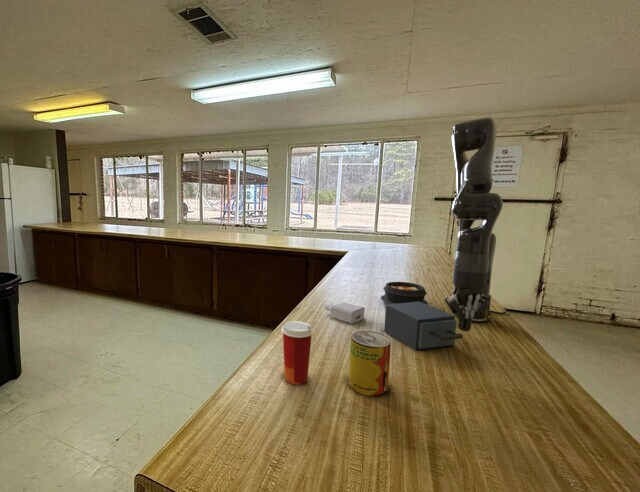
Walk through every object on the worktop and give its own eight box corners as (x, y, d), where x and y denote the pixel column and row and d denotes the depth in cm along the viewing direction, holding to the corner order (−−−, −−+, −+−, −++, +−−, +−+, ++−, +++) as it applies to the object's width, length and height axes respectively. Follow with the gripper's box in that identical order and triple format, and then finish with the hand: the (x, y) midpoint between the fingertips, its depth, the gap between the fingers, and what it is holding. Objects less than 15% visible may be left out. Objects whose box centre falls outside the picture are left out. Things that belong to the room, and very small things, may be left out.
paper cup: (313, 373, 83) (314, 322, 81) (309, 389, 76) (310, 334, 74) (284, 368, 86) (284, 318, 84) (277, 383, 79) (277, 329, 77)
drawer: (468, 351, 93) (471, 326, 92) (433, 356, 90) (436, 330, 89) (420, 327, 111) (422, 306, 110) (390, 331, 108) (391, 309, 107)
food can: (369, 400, 72) (372, 350, 70) (340, 380, 80) (342, 335, 78) (396, 389, 76) (399, 342, 74) (366, 371, 84) (369, 328, 82)
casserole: (424, 317, 123) (426, 296, 122) (373, 308, 134) (375, 288, 132) (431, 301, 143) (432, 282, 142) (386, 294, 154) (388, 277, 153)
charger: (330, 308, 133) (364, 318, 122) (317, 313, 127) (351, 324, 116) (331, 297, 133) (364, 306, 121) (317, 302, 127) (351, 312, 115)
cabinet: (452, 345, 100) (455, 315, 98) (415, 350, 96) (418, 319, 95) (417, 327, 114) (419, 301, 112) (384, 331, 110) (385, 304, 109)
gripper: (462, 273, 80) (456, 338, 83) (503, 270, 83) (496, 333, 86) (438, 267, 87) (433, 327, 90) (477, 264, 90) (471, 322, 93)
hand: (464, 330), depth 88 cm, fingers closed
